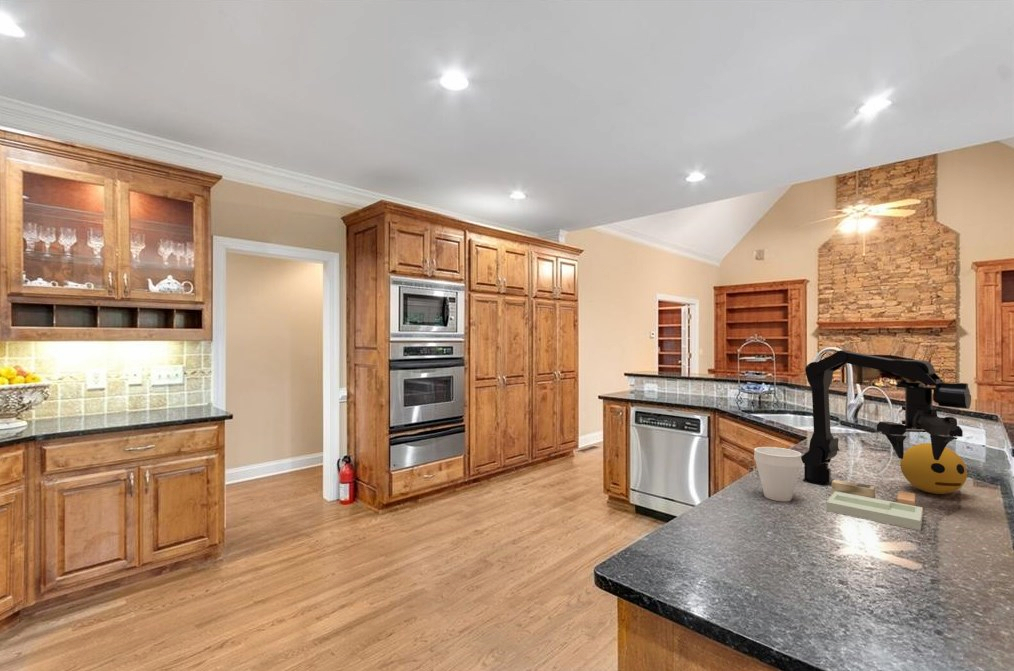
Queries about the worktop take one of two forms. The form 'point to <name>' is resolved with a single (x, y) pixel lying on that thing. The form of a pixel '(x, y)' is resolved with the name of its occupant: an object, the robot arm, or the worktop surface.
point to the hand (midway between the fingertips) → (918, 459)
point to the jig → (876, 510)
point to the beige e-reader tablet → (853, 488)
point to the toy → (933, 469)
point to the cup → (777, 471)
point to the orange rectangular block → (906, 498)
